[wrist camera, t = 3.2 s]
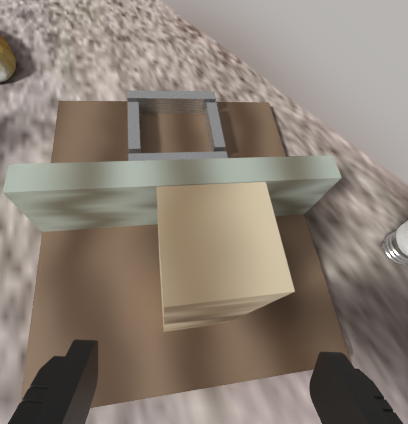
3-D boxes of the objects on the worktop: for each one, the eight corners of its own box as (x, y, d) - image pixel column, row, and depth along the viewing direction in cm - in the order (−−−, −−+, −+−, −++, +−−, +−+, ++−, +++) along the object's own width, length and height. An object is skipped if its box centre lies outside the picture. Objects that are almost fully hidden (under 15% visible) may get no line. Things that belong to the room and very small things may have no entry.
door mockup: (266, 109, 32) (290, 51, 26) (343, 362, 21) (418, 366, 15) (62, 108, 28) (34, 40, 22) (25, 416, 17) (-52, 453, 11)
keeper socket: (211, 107, 30) (214, 91, 28) (223, 173, 26) (228, 160, 24) (129, 106, 28) (127, 90, 27) (130, 176, 25) (128, 163, 23)
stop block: (216, 263, 22) (265, 181, 12) (226, 323, 20) (294, 291, 10) (159, 268, 21) (156, 186, 11) (163, 331, 20) (164, 307, 9)
